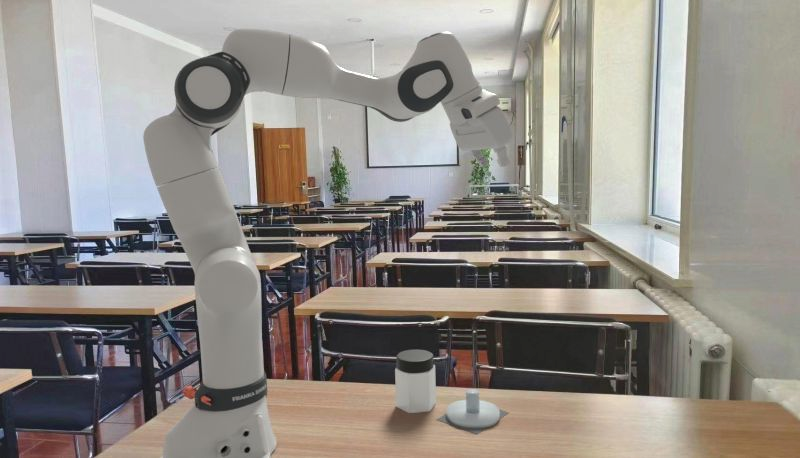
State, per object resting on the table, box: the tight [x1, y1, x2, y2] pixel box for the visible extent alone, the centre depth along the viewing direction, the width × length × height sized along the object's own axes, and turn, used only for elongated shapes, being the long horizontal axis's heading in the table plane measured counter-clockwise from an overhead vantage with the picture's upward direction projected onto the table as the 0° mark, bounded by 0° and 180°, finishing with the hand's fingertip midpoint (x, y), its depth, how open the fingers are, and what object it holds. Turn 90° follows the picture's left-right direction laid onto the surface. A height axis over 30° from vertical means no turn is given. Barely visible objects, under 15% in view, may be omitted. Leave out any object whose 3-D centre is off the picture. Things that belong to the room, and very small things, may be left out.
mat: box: [436, 409, 510, 435], centre depth 110 cm, size 12×10×1 cm
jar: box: [394, 349, 437, 414], centre depth 116 cm, size 9×8×12 cm
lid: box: [445, 388, 500, 428], centre depth 110 cm, size 11×11×5 cm
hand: (494, 165), depth 114 cm, fingers open, 8 cm apart
